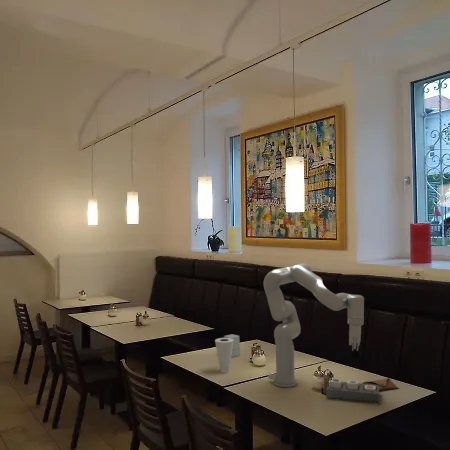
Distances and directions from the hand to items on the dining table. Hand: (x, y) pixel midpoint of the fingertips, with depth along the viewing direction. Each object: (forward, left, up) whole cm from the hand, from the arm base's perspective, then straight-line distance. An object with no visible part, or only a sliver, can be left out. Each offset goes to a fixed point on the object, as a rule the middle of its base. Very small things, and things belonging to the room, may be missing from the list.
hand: (355, 358), depth 242 cm
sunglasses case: (+11, +15, -19) cm, 27 cm away
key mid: (-1, 0, -15) cm, 15 cm away
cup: (-73, +21, -19) cm, 78 cm away
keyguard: (-1, 0, -18) cm, 18 cm away
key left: (-9, 0, -15) cm, 18 cm away
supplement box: (-79, +54, -19) cm, 98 cm away
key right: (+7, 0, -17) cm, 18 cm away
